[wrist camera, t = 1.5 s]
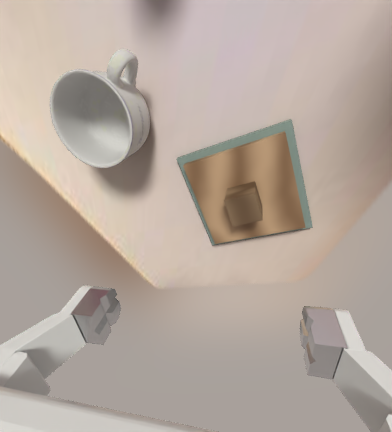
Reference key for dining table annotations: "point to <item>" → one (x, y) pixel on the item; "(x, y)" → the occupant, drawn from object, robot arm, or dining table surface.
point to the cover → (247, 190)
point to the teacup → (101, 112)
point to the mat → (249, 138)
